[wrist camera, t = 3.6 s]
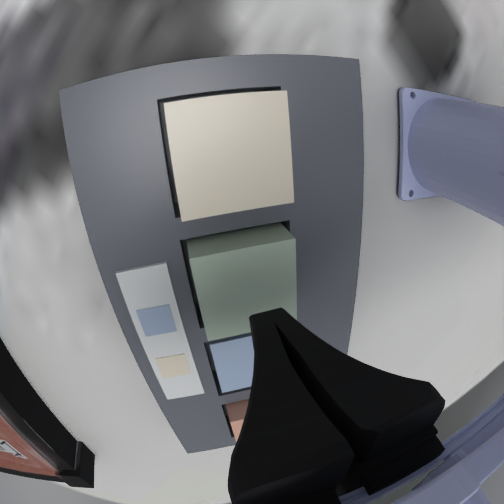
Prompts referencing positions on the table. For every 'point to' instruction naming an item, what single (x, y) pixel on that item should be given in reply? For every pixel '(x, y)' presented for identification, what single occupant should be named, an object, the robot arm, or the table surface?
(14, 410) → the book
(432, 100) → the robot arm
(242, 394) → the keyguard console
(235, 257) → the sage key
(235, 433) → the terracotta key
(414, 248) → the table surface
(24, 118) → the table surface
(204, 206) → the sand key
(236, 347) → the slate key
